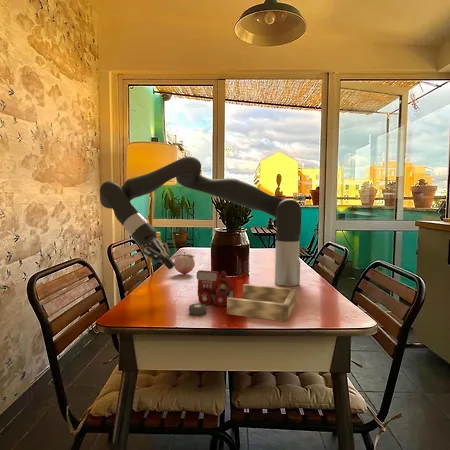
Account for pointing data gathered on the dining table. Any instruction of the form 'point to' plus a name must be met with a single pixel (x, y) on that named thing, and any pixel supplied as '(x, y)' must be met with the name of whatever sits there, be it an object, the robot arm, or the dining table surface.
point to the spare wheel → (197, 309)
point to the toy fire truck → (214, 287)
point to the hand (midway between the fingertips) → (172, 267)
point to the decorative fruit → (184, 263)
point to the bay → (263, 302)
